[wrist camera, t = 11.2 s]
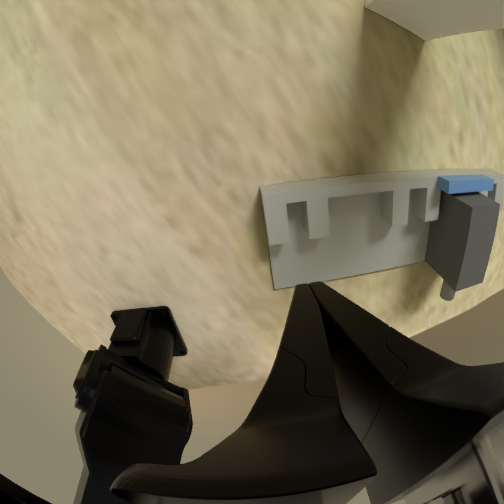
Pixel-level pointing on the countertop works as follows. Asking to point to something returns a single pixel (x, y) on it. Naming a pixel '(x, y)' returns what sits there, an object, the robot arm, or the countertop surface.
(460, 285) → the dark grey knobbed block
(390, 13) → the milk
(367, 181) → the grey toothed rack
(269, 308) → the countertop surface
